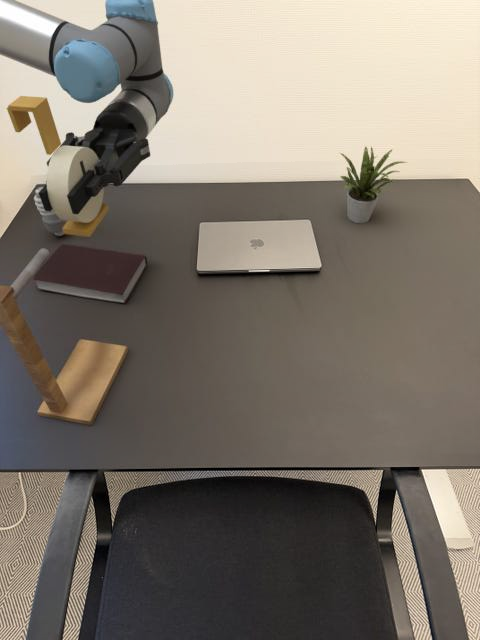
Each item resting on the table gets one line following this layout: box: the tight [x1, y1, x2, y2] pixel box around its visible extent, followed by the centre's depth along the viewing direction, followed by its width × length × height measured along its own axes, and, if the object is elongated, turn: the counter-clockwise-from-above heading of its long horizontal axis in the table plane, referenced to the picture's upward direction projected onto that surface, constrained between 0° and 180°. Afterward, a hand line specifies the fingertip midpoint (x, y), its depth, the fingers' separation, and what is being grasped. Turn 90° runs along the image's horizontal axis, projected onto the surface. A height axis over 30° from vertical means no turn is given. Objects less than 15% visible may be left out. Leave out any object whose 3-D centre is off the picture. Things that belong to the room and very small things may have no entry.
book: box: [32, 243, 148, 304], centre depth 96 cm, size 12×19×3 cm, turn 77°
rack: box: [0, 247, 129, 426], centre depth 70 cm, size 9×16×26 cm, turn 168°
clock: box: [6, 95, 110, 238], centre depth 63 cm, size 7×10×17 cm
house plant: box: [339, 146, 407, 224], centre depth 104 cm, size 14×14×16 cm
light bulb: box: [33, 186, 67, 237], centre depth 103 cm, size 6×6×12 cm
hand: (58, 203), depth 60 cm, fingers closed on clock, 3 cm apart
